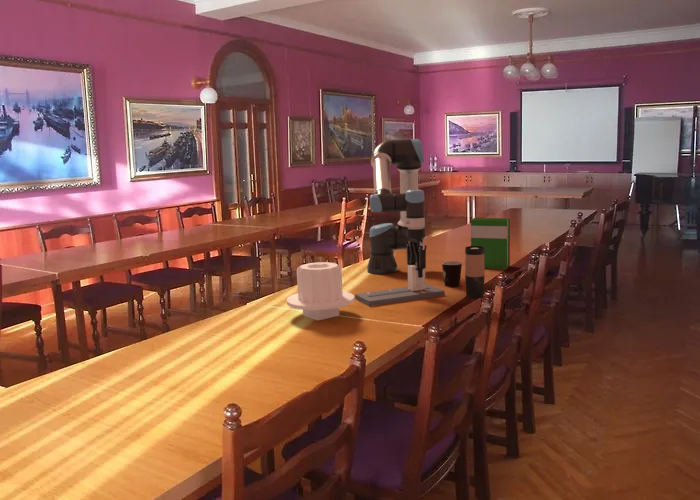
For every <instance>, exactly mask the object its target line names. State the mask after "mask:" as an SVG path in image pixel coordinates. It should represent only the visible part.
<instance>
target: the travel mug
mask: <svg viewBox="0 0 700 500" xmlns="http://www.w3.org/2000/svg"><path fill="white" fill-rule="evenodd" d="M464 252H465V255H464V259H465V260H464V264H465V265H464V273H465V274H464V280H465V296H466V297H467V298H471V299H479V298H484V296H483V294H484V295H485V268H484V247H482V246H471V245H469V246H466V247H465V249H464Z"/></svg>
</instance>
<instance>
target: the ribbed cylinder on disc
mask: <svg viewBox="0 0 700 500" xmlns="http://www.w3.org/2000/svg"><path fill="white" fill-rule="evenodd" d="M342 274H343V273H342V266H341V265H340V264H337V262H328V261H327V262H326V261H324V262H322V261H321V262H318V261H317V262H310V263H306V264H300V265H299V266H298V267H297V268H296V282H297V283H296V285H297V293H294V294H291V295H289V296H288V297H287V298H286V305H287V306H288V307H290V308H293V309H297V310H302V315H303V316H304V317H306V318H309V319H312V320H315V321H317V322H318V321H323V320H327V319H331V318H336V317H338V316H340V308H343V307H346V306H349V305H351V304H353V303H354V302H355V294H353V293H350V292H348V291H344V290H343V275H342Z"/></svg>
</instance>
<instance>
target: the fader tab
mask: <svg viewBox="0 0 700 500" xmlns="http://www.w3.org/2000/svg"><path fill="white" fill-rule="evenodd" d="M416 269H417V265H415V264H414V265H407V287H408V289H409V290H411V291H417V290H425V284H426V268H425V269H423V285H416Z"/></svg>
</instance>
